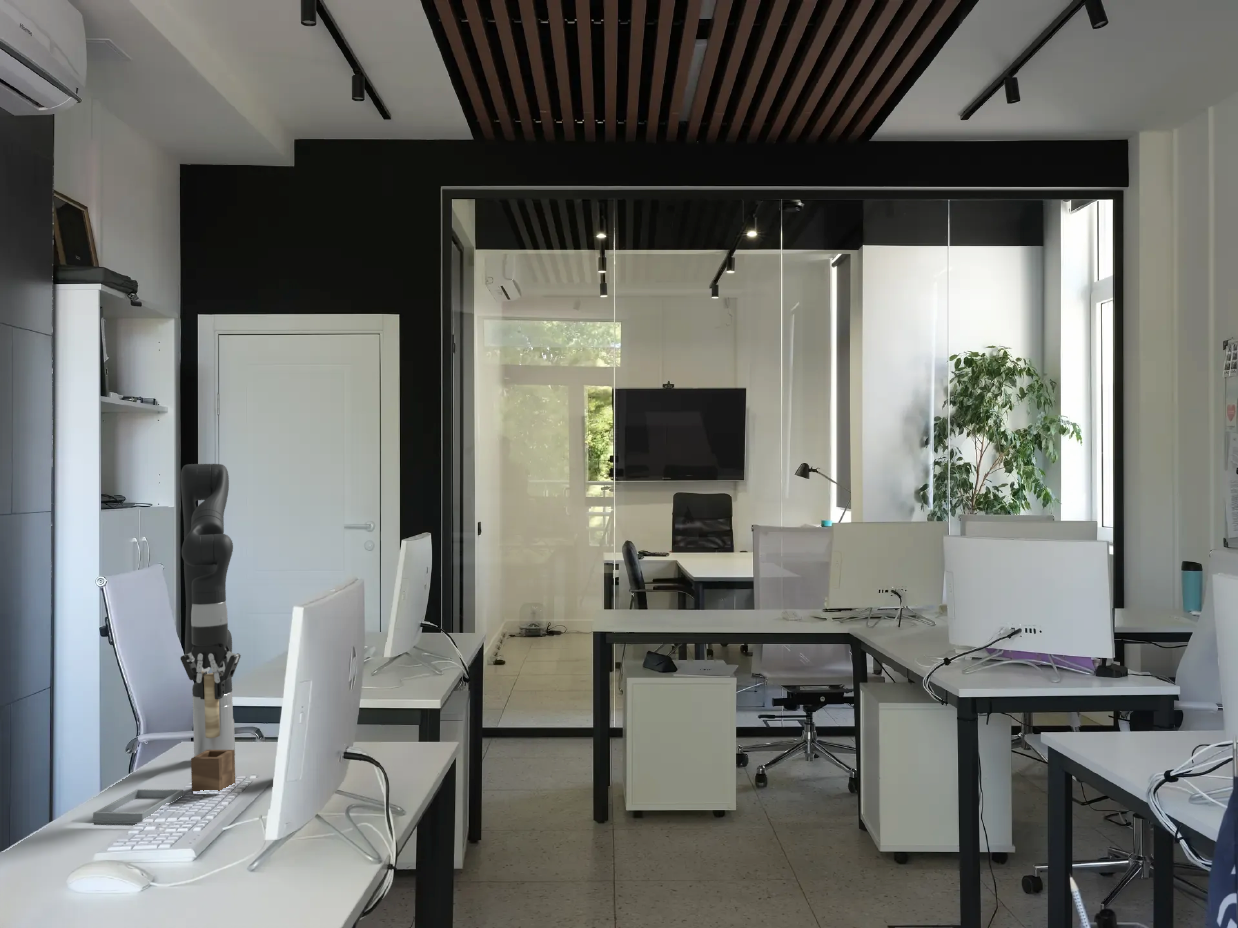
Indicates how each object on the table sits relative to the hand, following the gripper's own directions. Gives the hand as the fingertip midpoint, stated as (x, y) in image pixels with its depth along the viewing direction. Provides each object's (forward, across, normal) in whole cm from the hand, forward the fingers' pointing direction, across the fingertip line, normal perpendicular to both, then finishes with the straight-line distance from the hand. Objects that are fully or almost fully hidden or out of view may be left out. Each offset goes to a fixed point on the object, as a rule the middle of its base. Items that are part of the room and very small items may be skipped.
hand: (211, 698), depth 209 cm
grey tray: (+22, +10, +12) cm, 27 cm away
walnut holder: (+22, 0, 0) cm, 22 cm away
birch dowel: (+9, 0, 0) cm, 9 cm away
